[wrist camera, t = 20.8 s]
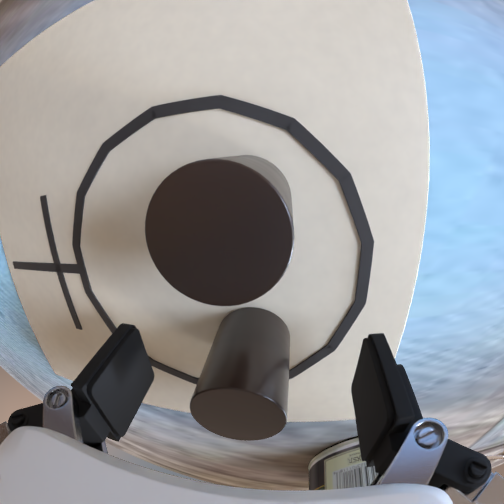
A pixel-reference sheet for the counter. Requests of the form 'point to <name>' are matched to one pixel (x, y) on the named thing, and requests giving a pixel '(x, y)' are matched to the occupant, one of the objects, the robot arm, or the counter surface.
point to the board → (215, 146)
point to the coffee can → (340, 468)
